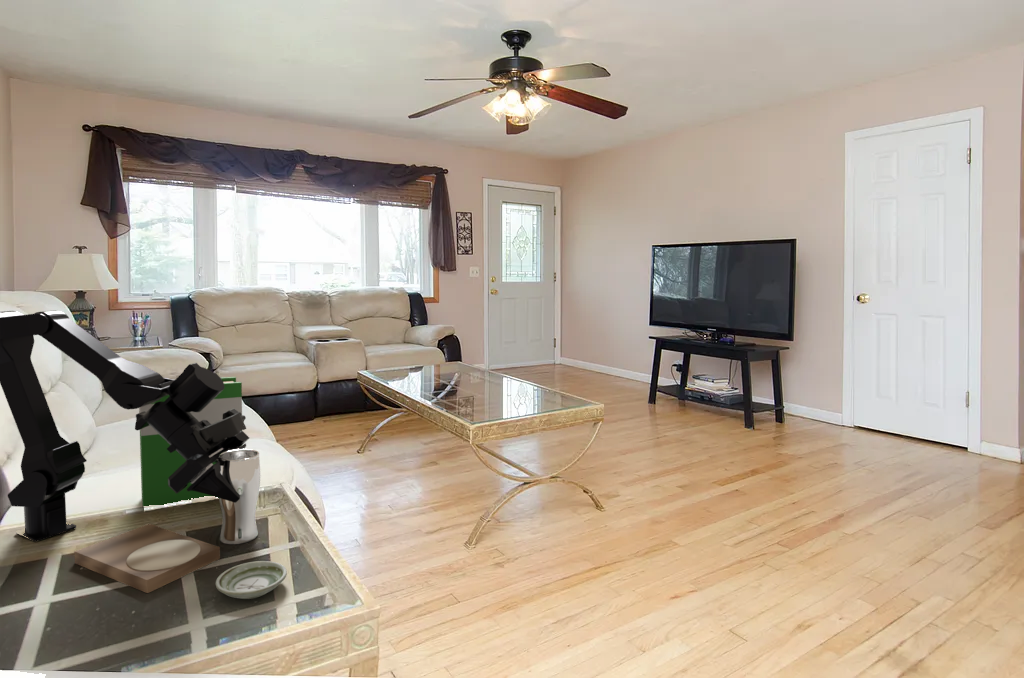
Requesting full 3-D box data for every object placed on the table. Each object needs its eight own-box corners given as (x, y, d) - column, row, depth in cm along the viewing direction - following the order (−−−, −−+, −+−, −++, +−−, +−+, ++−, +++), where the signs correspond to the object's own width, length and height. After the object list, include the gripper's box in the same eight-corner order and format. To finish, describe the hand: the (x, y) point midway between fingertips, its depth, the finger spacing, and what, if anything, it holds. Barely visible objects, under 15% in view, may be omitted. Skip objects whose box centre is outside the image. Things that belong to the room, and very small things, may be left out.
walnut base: (74, 563, 93) (74, 549, 93) (149, 534, 104) (149, 522, 104) (147, 593, 85) (147, 578, 85) (220, 558, 96) (219, 545, 96)
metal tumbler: (243, 548, 100) (243, 462, 99) (207, 542, 101) (207, 458, 100) (268, 531, 107) (268, 450, 105) (234, 526, 108) (234, 447, 107)
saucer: (292, 572, 93) (292, 558, 93) (279, 606, 84) (279, 590, 83) (227, 576, 91) (227, 561, 91) (206, 611, 82) (205, 594, 82)
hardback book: (236, 484, 129) (235, 376, 126) (242, 495, 123) (241, 382, 120) (141, 499, 119) (138, 382, 117) (143, 512, 113) (139, 389, 110)
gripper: (185, 410, 92) (257, 481, 94) (237, 388, 111) (297, 446, 112) (136, 458, 93) (208, 527, 94) (196, 427, 111) (255, 485, 113)
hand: (246, 492), depth 103 cm, fingers closed on metal tumbler, 7 cm apart
